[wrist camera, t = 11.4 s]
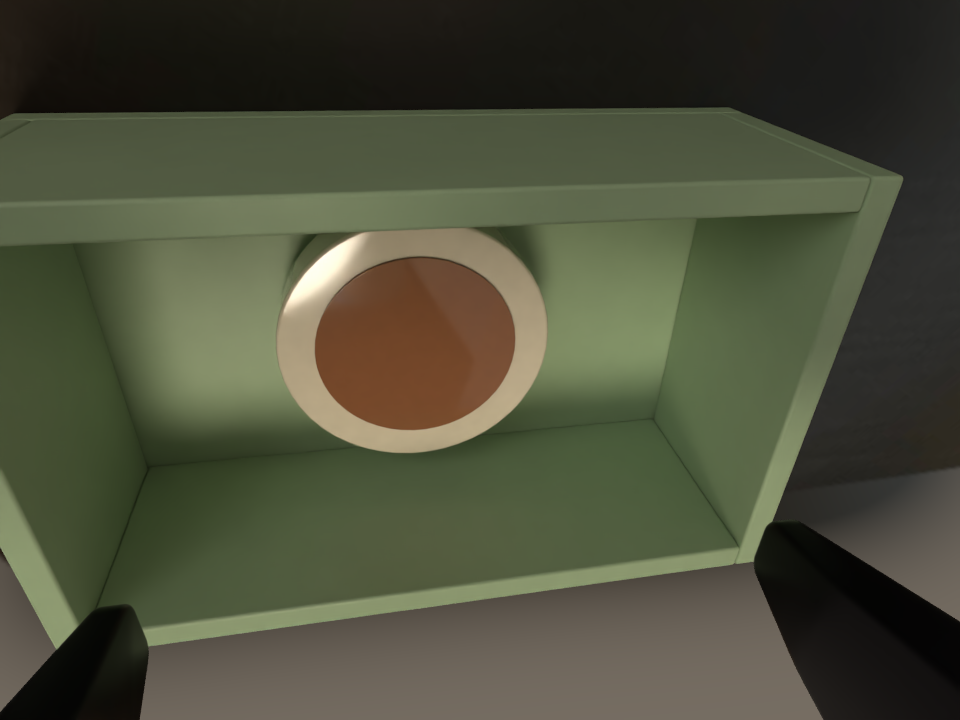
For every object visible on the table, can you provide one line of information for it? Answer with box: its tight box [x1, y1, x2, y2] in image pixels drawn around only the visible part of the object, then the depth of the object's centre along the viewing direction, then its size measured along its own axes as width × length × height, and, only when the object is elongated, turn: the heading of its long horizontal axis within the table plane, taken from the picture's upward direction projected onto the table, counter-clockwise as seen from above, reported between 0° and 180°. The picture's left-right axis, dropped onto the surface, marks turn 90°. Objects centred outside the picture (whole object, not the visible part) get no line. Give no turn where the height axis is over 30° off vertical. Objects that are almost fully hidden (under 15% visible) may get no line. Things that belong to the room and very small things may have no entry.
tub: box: [0, 107, 903, 650], centre depth 14 cm, size 15×9×6 cm, turn 88°
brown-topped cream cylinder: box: [276, 227, 548, 453], centre depth 15 cm, size 6×6×2 cm
